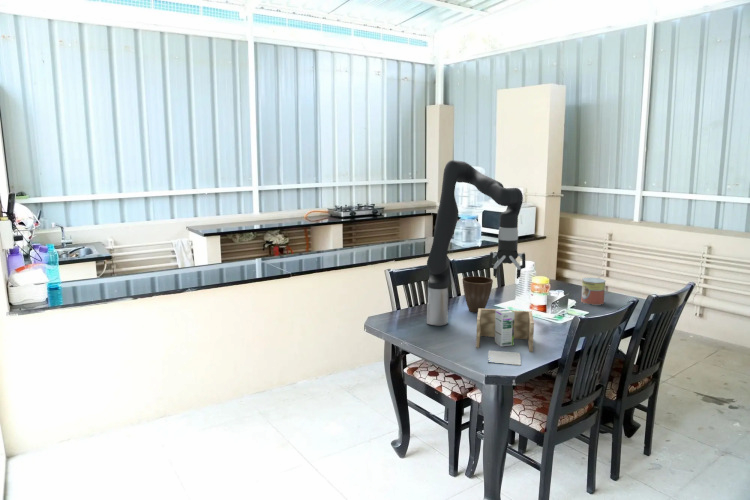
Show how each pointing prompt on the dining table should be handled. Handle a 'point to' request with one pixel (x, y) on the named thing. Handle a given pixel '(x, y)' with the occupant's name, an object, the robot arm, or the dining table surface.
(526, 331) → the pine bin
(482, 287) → the plant pot
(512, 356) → the grey mat
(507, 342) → the syrup box
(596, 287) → the canned food
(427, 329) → the dining table surface
